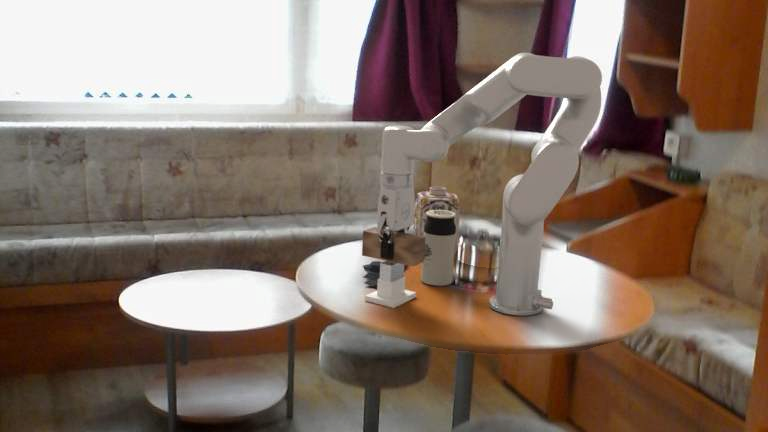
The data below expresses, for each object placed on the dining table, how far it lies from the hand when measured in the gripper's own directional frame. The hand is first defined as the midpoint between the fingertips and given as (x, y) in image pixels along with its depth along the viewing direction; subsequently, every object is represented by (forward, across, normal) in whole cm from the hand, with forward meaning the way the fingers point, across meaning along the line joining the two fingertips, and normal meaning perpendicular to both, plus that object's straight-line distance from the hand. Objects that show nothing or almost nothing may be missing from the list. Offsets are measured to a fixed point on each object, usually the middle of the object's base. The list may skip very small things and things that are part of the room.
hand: (393, 255), depth 205 cm
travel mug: (+11, +19, -2) cm, 22 cm away
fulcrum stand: (+11, 0, 0) cm, 11 cm away
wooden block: (+1, 0, 0) cm, 1 cm away
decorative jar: (+11, +47, +14) cm, 50 cm away
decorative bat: (+11, +14, +12) cm, 21 cm away
